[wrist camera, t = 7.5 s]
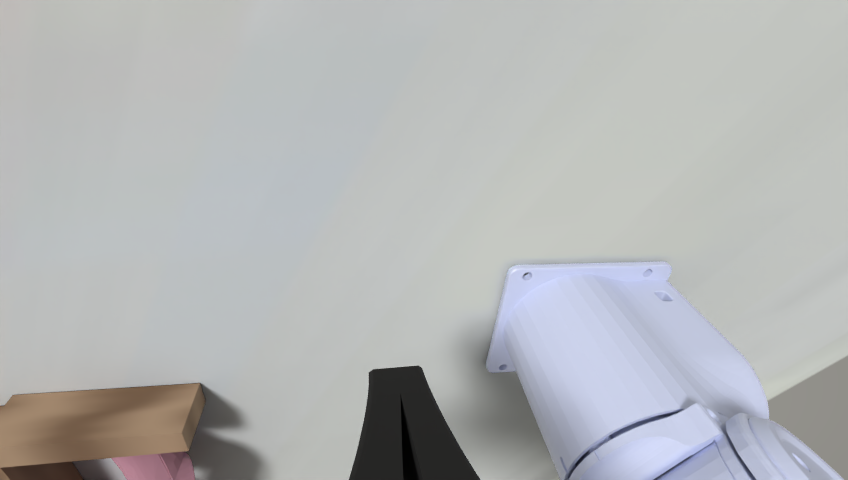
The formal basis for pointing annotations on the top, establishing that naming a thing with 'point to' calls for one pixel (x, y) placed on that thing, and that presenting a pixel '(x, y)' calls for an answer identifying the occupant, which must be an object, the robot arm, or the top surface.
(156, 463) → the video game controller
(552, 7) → the top surface
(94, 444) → the docking bay
